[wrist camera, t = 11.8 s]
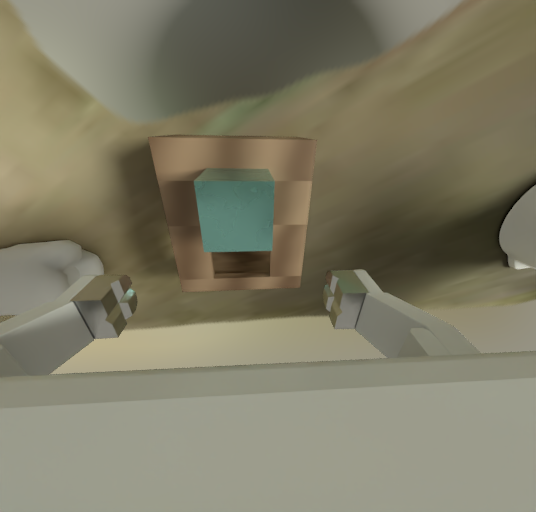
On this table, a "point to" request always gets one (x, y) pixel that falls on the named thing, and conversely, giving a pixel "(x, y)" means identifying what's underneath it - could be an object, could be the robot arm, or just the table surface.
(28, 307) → the bottle
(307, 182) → the tan hollow wooden block
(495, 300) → the table surface
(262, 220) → the teal stemmed block
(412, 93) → the table surface
